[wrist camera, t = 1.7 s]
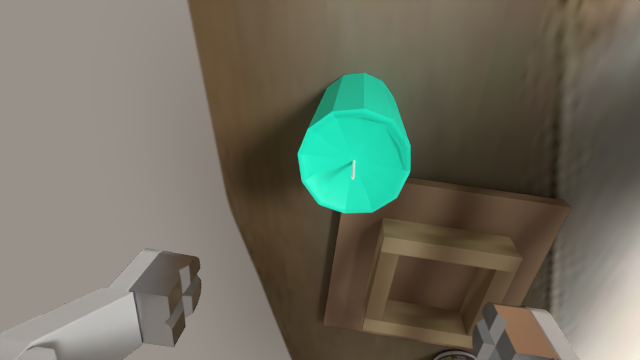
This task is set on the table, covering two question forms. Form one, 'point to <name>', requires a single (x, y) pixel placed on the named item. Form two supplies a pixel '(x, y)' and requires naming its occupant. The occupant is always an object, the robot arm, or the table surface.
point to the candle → (355, 147)
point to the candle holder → (438, 260)
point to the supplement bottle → (455, 356)
